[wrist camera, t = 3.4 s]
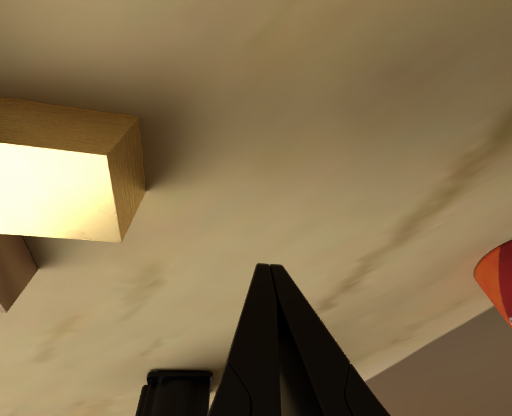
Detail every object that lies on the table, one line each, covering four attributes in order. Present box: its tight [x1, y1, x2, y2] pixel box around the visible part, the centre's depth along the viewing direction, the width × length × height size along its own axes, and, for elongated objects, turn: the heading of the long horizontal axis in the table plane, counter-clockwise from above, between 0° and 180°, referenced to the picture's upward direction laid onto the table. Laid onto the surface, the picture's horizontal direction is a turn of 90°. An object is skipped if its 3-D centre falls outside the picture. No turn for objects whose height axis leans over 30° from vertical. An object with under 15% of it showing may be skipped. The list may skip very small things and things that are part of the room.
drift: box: [0, 97, 146, 243], centre depth 11 cm, size 7×4×4 cm, turn 80°
